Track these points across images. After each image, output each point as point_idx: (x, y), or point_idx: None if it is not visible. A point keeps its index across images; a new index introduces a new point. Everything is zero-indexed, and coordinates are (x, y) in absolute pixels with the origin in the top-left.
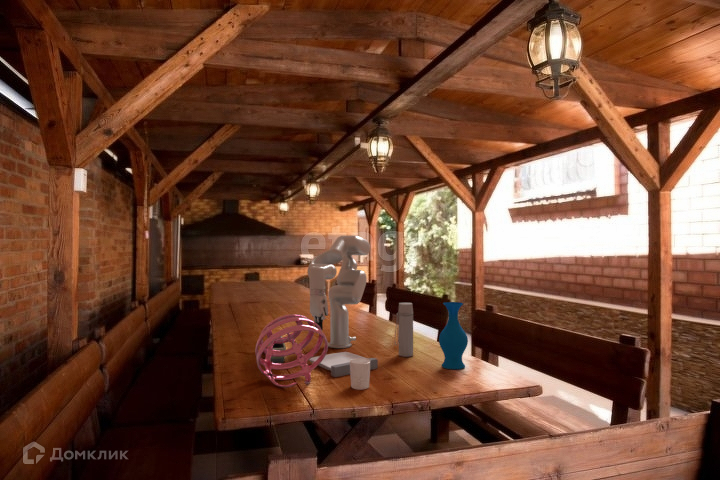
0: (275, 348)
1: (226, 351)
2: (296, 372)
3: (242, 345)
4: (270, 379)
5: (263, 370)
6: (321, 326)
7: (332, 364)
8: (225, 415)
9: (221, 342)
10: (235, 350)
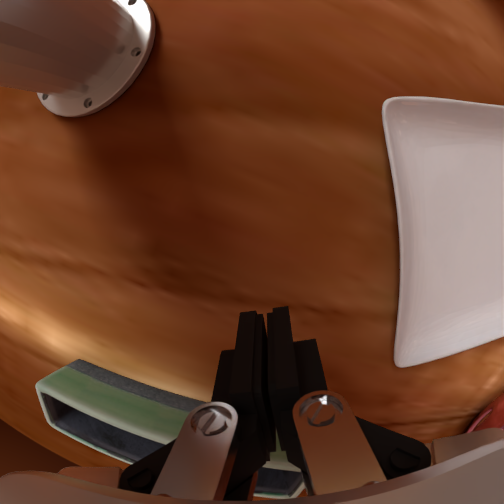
0: (300, 491)
1: (85, 461)
2: (483, 416)
3: (23, 407)
4: None
5: None
6: (318, 358)
7: (476, 261)
8: None
9: (4, 419)
10: (75, 446)
